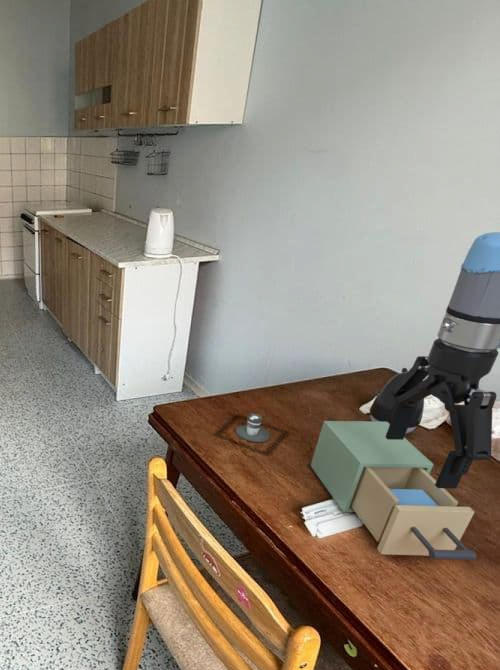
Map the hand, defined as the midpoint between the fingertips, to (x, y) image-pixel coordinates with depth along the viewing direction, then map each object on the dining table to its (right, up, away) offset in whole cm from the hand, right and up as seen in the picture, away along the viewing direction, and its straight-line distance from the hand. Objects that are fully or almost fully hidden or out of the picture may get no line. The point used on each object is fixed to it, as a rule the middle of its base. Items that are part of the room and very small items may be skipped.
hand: (417, 461), depth 79 cm
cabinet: (+1, -8, +17) cm, 19 cm away
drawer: (0, -14, +3) cm, 15 cm away
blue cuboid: (0, -12, +4) cm, 13 cm away
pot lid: (-13, +1, +35) cm, 38 cm away
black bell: (+21, +2, +36) cm, 42 cm away
